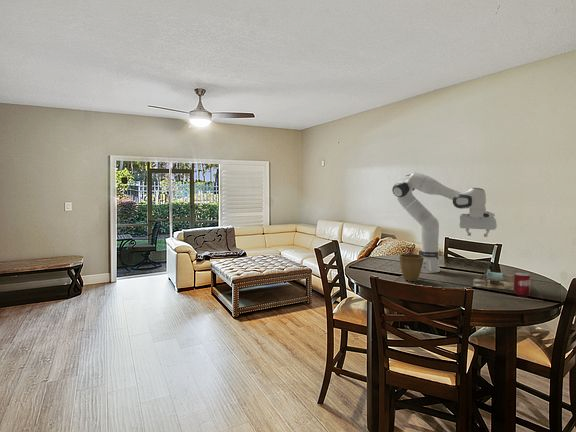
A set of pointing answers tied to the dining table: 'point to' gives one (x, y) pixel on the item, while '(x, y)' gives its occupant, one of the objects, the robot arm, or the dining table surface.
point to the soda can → (522, 284)
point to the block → (494, 282)
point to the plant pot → (411, 266)
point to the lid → (494, 275)
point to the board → (501, 285)
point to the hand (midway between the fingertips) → (477, 236)
